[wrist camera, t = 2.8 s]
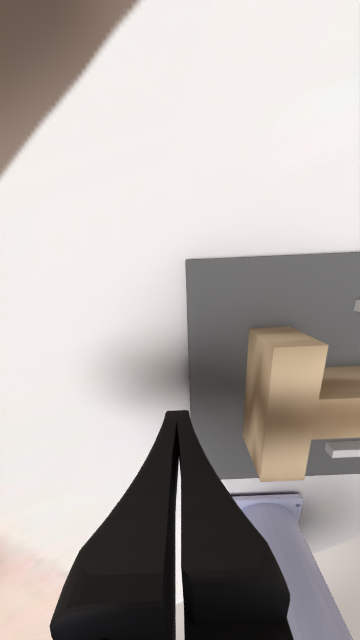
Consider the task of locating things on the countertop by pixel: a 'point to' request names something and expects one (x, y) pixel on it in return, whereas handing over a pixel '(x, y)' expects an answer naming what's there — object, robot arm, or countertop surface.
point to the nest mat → (264, 312)
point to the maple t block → (294, 401)
